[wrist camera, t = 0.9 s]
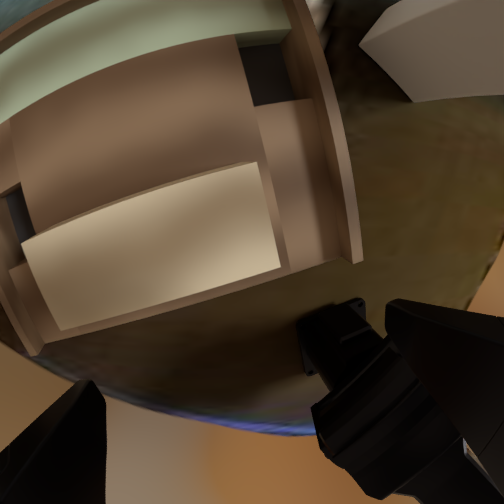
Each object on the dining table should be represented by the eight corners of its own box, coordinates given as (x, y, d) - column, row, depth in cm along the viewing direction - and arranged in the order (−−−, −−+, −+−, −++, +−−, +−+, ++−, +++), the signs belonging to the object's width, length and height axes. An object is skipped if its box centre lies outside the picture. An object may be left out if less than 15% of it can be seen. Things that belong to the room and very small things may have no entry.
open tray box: (332, 241, 22) (363, 260, 17) (51, 325, 19) (30, 356, 15) (266, -19, 14) (283, -50, 10) (-15, 80, 11) (-45, 71, 7)
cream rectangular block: (260, 243, 17) (280, 267, 14) (82, 298, 16) (60, 330, 12) (240, 162, 16) (256, 161, 12) (52, 225, 14) (20, 243, 10)
